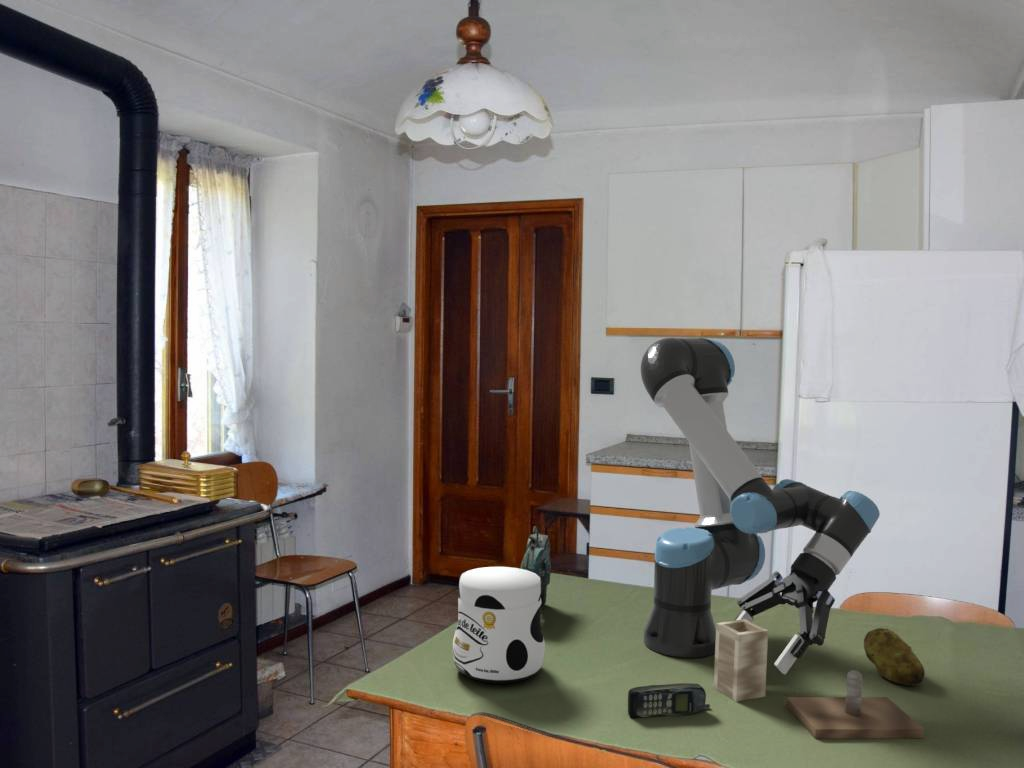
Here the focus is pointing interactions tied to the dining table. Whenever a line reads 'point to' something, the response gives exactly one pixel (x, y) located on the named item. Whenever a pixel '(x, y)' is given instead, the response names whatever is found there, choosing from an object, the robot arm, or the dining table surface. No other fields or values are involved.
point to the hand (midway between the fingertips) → (752, 655)
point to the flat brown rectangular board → (853, 715)
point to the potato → (893, 657)
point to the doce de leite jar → (499, 625)
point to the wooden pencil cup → (740, 659)
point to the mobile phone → (666, 700)
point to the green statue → (538, 560)
